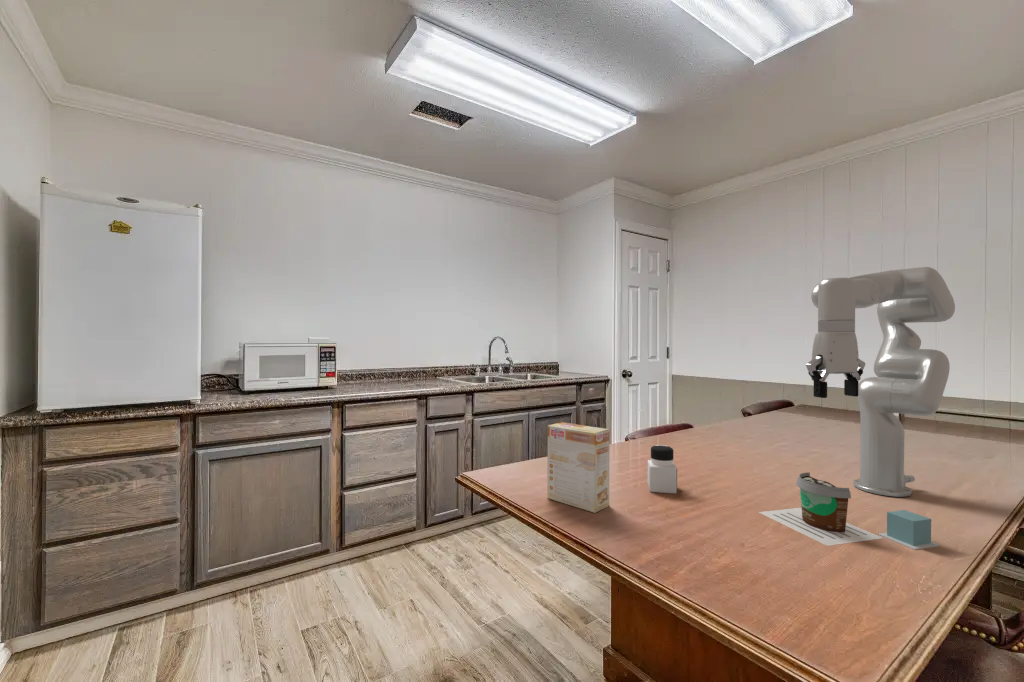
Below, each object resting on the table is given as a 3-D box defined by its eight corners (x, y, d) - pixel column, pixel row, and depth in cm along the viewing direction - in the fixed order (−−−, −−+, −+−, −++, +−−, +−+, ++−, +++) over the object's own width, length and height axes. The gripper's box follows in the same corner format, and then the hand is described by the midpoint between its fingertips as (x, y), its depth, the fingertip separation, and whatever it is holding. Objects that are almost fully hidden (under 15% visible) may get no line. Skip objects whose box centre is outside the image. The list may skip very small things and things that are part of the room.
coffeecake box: (610, 506, 113) (610, 428, 113) (594, 514, 108) (595, 433, 107) (562, 491, 123) (562, 421, 123) (546, 498, 118) (546, 424, 118)
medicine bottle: (677, 494, 121) (677, 450, 121) (649, 492, 123) (650, 448, 123) (673, 485, 128) (673, 444, 128) (647, 484, 130) (647, 442, 130)
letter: (808, 507, 112) (808, 506, 112) (883, 538, 95) (883, 537, 95) (758, 513, 108) (758, 512, 108) (826, 546, 91) (826, 545, 91)
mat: (902, 532, 98) (902, 530, 98) (940, 546, 91) (940, 544, 91) (878, 535, 96) (878, 533, 96) (914, 550, 89) (914, 548, 89)
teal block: (904, 532, 97) (904, 509, 97) (931, 543, 92) (931, 518, 92) (886, 535, 95) (887, 512, 95) (913, 545, 91) (913, 521, 91)
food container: (783, 513, 108) (784, 472, 107) (807, 512, 108) (807, 471, 108) (824, 536, 95) (824, 489, 95) (850, 535, 96) (851, 488, 96)
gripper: (848, 328, 117) (848, 393, 117) (794, 328, 113) (794, 396, 113) (878, 327, 110) (878, 397, 110) (822, 327, 105) (821, 400, 106)
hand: (835, 396), depth 111 cm, fingers open, 9 cm apart
